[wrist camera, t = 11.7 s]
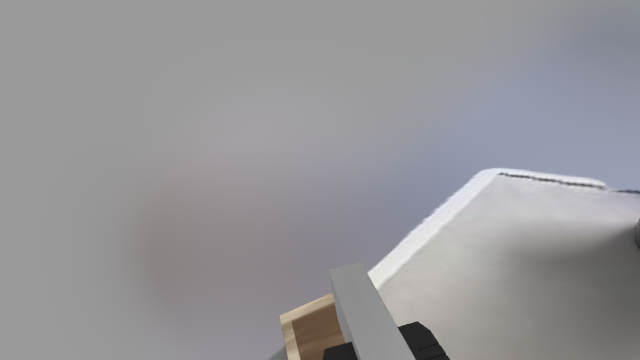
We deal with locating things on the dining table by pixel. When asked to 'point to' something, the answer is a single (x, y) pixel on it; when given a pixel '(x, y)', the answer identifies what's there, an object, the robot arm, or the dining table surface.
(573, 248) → the dining table surface
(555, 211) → the dining table surface
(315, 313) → the light brown rectangular block
